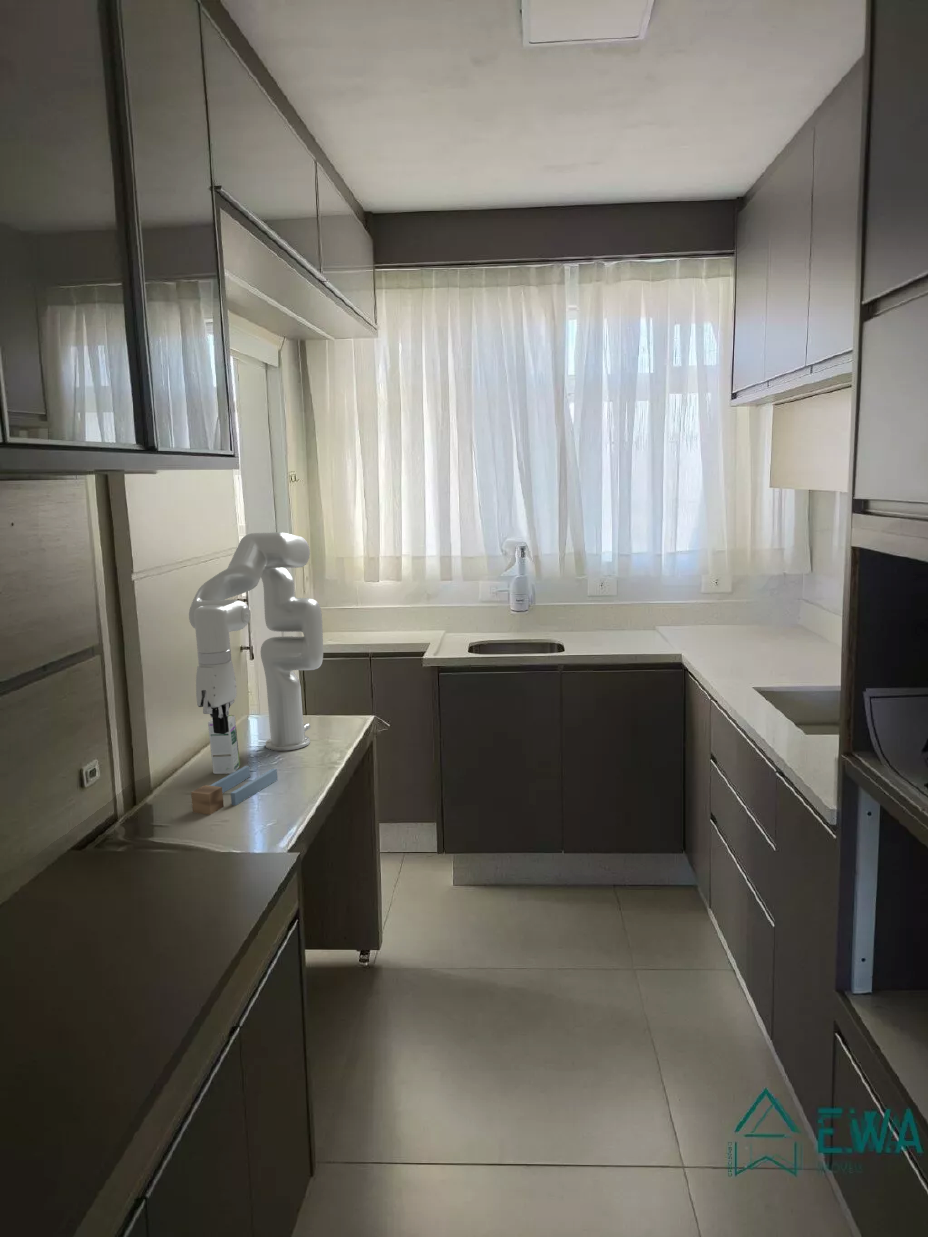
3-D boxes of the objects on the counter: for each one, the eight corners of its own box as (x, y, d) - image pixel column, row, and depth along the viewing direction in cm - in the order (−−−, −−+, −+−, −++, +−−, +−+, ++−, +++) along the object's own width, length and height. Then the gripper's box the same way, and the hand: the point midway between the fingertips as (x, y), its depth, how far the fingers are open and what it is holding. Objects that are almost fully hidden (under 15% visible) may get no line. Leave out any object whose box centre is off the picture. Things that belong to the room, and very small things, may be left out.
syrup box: (234, 773, 235) (230, 720, 233) (212, 774, 235) (207, 721, 233) (240, 766, 241) (236, 714, 238) (218, 767, 241) (214, 715, 239)
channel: (246, 776, 232) (245, 765, 232) (277, 780, 229) (276, 768, 229) (202, 801, 216) (201, 789, 215) (235, 805, 212) (234, 793, 212)
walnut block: (206, 805, 214) (204, 785, 213) (223, 807, 212) (222, 787, 211) (192, 812, 209) (191, 792, 208) (210, 815, 207) (208, 794, 207)
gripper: (220, 650, 219) (226, 722, 223) (181, 664, 206) (188, 741, 209) (246, 651, 217) (252, 724, 220) (208, 665, 203) (215, 743, 206)
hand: (221, 732), depth 214 cm, fingers closed
